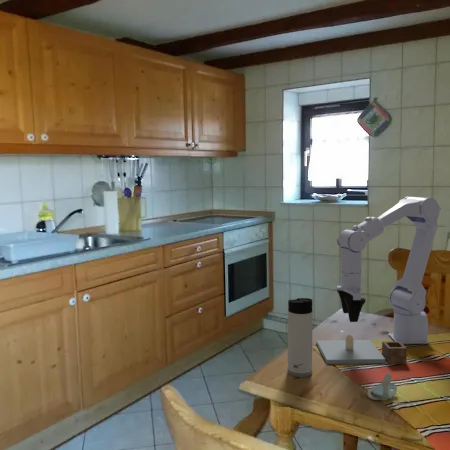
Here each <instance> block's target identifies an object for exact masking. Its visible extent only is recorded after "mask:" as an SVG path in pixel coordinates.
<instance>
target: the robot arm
mask: <svg viewBox="0 0 450 450" xmlns="http://www.w3.org/2000/svg"><path fill="white" fill-rule="evenodd" d="M440 212H441V206H440V205H439V202H438V201H437V200H436V198H434V197H429V196H428V197H422V196H413V195H408V196H405V197H404V198H402V199H399V201H398V202H397V203H396V204H394V206H392V207H391V208H389V209H388V210H386V211H385V212H383V213H382V214H380V215H379V216H378V217H376V216H367V217H365V218H364V220H363V221H362V222H360V223H358V224H354V225H353V226H352V228H351V229H345V230H342V231H341V232H340V233H339V235H338V238H337V239H336V243H337V244H336V245H337V246H338V247H339V249H340V250H339V252H340V285H336V288H335V289H336V292H337V293H338V296H339V299H340V303H341V309H342V313H343V314H348V319H349V322H350V323H358V321H359V318H360V314H361V311H362V308H363V306H364V304H365V303H366V299H365V297H362V293H361V292H362V288H363V287H362V256H363V255H362V251H363V250H365V248H366V246H367V244H369V242H371V241H372V240H374V239H376V238H377V237H379V236H380V235H382V234H383V233H384V230H385V228H386V227H388V226H390V225H392V224H394V223H395V222H398V221H400V220H401V219H403V218H406V219H408V220H409V221H410V222H411V223H412V224H413V226H414V228H415V229H416V230H415V233H414V237H413V239H412V244H411V246H410V251H409V255H408V258H407V261H406V266H405V267H404V272H403V275H402V277H401V278H400V279H398V280H397V281H396V282H395V283H394V286H393V288H391V291H390V293H389V294H388V301H389V303H390V305H392V309H393V328H392V330H393V331H392V332H390V333H388V336H389V337H390V338H391V339H392V340H393V341H400V342H401V343H402V344H403V345H414V344H415V345H417V344H419V345H420V344H429V341H428V340H429V339H428V335H429V334H428V333H429V319H428V315H427V314H426V312H425V311H424V309H425V308H426V305H427V303H426V301H427V300H426V296H427V295H426V294H427V290H426V288H425V287H424V286H423V284H422V283H423V279H424V276H425V275H424V274H425V272H426V268H427V266H428V262H429V261H428V260H429V258H430V255H431V251H432V247H433V244H434V241H435V237H436V234H437V230H438V219H439V217H440V216H439V215H440Z"/></svg>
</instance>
